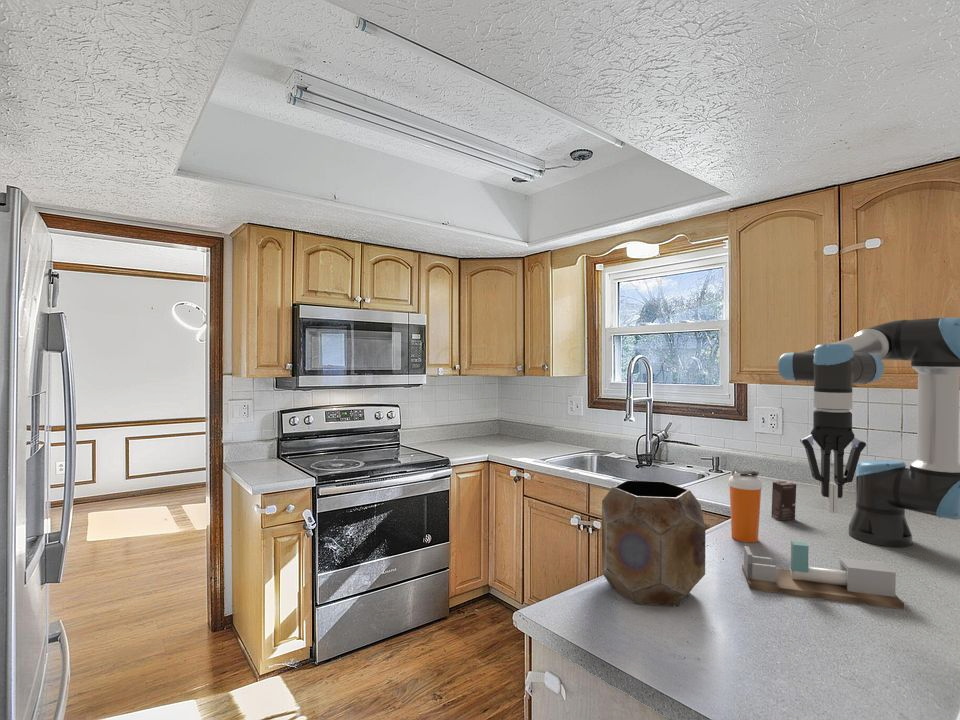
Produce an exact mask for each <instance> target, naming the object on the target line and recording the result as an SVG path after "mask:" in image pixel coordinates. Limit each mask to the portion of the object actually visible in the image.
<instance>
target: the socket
mask: <svg viewBox="0 0 960 720" xmlns="http://www.w3.org/2000/svg"><path fill="white" fill-rule="evenodd" d="M772 561H773V559H772V557H769V556H768V557H767V556H757V555H753V553H752V552H751V549H750V546H747V545H744V546H743V565H744V571H745V573H746V576H747V578H748V579H755V580H763V581H771V582H776V568H777V566H776V565H773V564H772Z"/></svg>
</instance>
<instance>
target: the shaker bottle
mask: <svg viewBox="0 0 960 720" xmlns="http://www.w3.org/2000/svg"><path fill="white" fill-rule="evenodd" d="M759 474H760V472H759V471H755V470H754V471H753V470H741V471H739V469H733V470H732V471H731V476H730V477H729V478H728V486H729V502H730V505H729V506H730V508H729V509H730V510H729V511H730V525H731V526H730V527H731V529H730V530H731V537H732V539H733V540H736V541H738V542H744V543H757V542H758V541H759V532H760V531H759V530H760V529H759V527H760V514H761V511H760V510H761V496H762V494H761V493H762V489H763V482H762V480H761V479H760V478H759V477H758V475H759Z"/></svg>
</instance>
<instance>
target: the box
mask: <svg viewBox="0 0 960 720" xmlns="http://www.w3.org/2000/svg"><path fill="white" fill-rule="evenodd" d="M771 492H772V493H771V495H772V496H771V518H772V519H775V520H778V521H788V520H789V521H790V520H791V521H792V520H796V502H797V484H796V483H793V482H790V481H788V480H786V481H785V480H783V481H780V480H779V481H773V482H772V491H771Z"/></svg>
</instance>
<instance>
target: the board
mask: <svg viewBox="0 0 960 720" xmlns="http://www.w3.org/2000/svg"><path fill="white" fill-rule="evenodd" d="M741 569H742V572H743V575H744V578H745V580H746V583H747V586H748V588H749V590H755V591H763V592H770V593H778V594H786V595H792V596H800V597H808V598H817V599H823V600H831V601H839V602H847V603H854V604H855V603H856V604H862V605H869V606H878V607H886V608H892V609H893V608H894V609H901V610H905V603H904V602H903V600H902V599H900V598H899V596H897V595H896V594H895V597H892V596H884V595H876V594H868V593H860V592H852V591H847V586H845V585H837V584H829V583H821V582H812V581H804V580H796V579H792V577H791V569H784V568H777V567H776V582H771V581H763V580H755V579H748V578H747V576H746V573H745V571H744V564H742V565H741Z"/></svg>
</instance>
